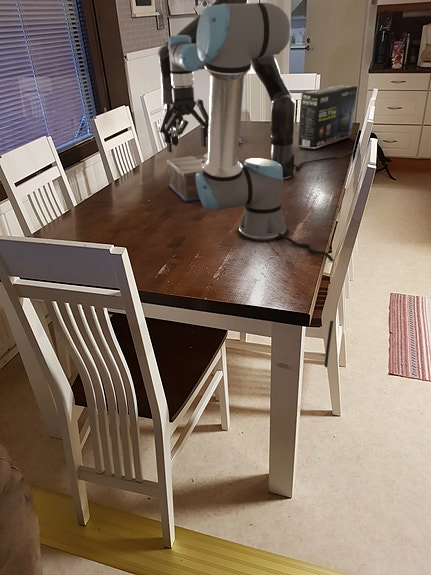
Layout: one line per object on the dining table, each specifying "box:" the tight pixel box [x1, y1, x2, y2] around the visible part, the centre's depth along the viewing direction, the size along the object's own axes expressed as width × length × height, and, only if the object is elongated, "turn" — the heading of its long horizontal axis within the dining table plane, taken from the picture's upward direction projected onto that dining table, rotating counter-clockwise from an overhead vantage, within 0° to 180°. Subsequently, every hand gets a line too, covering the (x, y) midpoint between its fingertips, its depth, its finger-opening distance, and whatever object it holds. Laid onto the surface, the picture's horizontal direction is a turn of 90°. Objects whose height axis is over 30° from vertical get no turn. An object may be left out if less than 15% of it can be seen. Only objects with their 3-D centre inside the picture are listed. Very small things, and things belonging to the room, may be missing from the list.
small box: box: [166, 155, 203, 203], centre depth 183 cm, size 21×11×11 cm, turn 22°
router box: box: [297, 84, 358, 151], centre depth 238 cm, size 36×11×27 cm, turn 134°
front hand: (186, 149), depth 169 cm, fingers open, 13 cm apart
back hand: (174, 145), depth 191 cm, fingers closed
